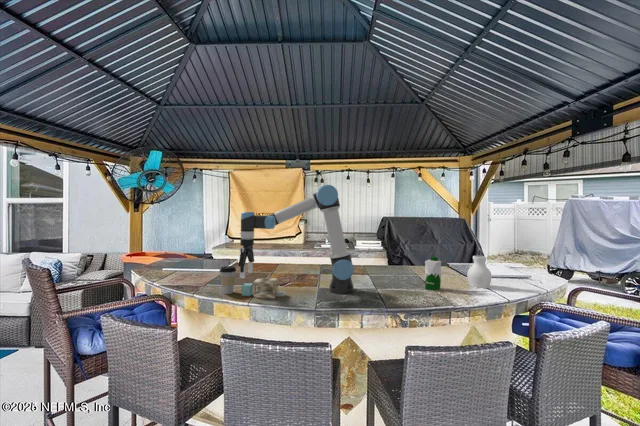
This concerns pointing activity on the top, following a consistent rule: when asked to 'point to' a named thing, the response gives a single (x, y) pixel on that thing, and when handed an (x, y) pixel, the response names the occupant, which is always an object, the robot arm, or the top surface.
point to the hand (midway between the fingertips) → (246, 275)
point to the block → (247, 289)
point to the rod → (269, 292)
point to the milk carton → (432, 274)
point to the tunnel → (266, 287)
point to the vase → (479, 273)
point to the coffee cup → (227, 279)
